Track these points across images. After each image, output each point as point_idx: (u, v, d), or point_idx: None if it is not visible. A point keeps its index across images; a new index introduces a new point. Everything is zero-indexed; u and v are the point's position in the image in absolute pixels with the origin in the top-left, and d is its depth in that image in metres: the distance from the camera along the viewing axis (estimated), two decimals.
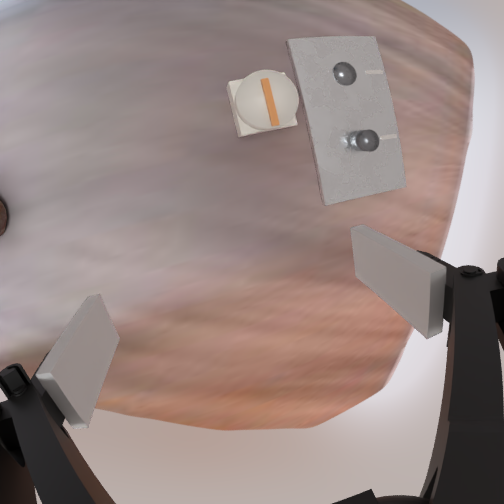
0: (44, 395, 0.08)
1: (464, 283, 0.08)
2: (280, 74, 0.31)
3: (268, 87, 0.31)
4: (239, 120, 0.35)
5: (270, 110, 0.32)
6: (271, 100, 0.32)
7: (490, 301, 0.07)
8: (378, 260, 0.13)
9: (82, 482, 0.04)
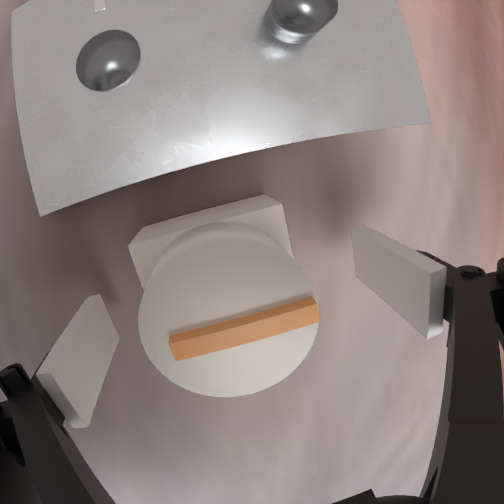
0: (44, 395, 0.08)
1: (464, 283, 0.08)
2: (146, 300, 0.11)
3: (200, 341, 0.11)
4: None
5: (273, 332, 0.11)
6: (242, 332, 0.11)
7: (490, 301, 0.07)
8: (378, 260, 0.13)
9: (82, 482, 0.04)
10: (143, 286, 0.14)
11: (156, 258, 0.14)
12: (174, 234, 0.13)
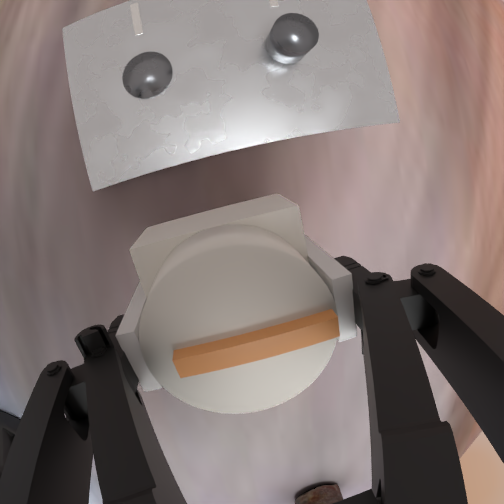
0: (123, 356, 0.10)
1: (370, 291, 0.09)
2: (148, 312, 0.10)
3: (208, 358, 0.10)
4: None
5: (289, 348, 0.10)
6: (254, 348, 0.10)
7: (401, 305, 0.08)
8: None
9: (146, 458, 0.05)
10: (146, 293, 0.13)
11: (160, 263, 0.12)
12: (180, 237, 0.12)
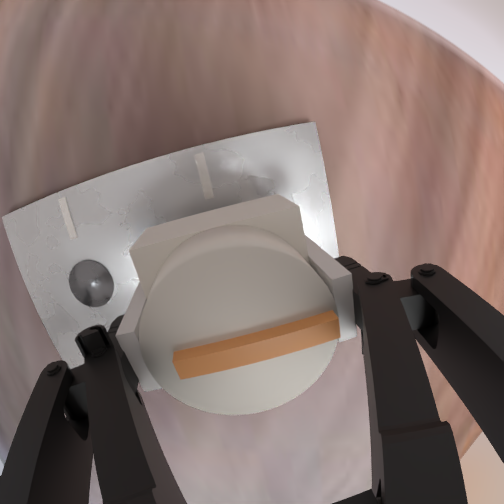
0: (123, 356, 0.10)
1: (370, 291, 0.09)
2: (148, 313, 0.10)
3: (208, 359, 0.10)
4: None
5: (289, 349, 0.10)
6: (254, 349, 0.10)
7: (401, 305, 0.08)
8: None
9: (146, 458, 0.05)
10: (146, 294, 0.13)
11: (160, 264, 0.12)
12: (180, 238, 0.12)
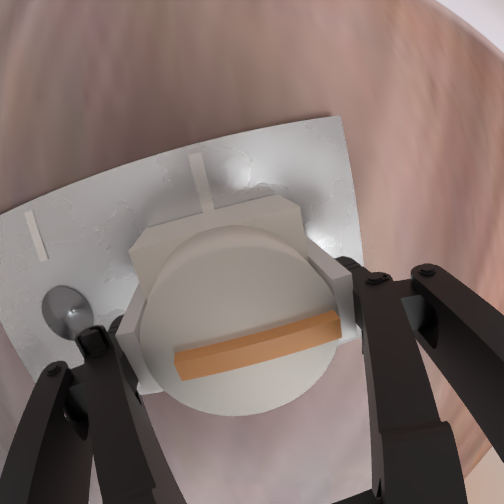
0: (123, 356, 0.10)
1: (370, 291, 0.09)
2: (149, 314, 0.10)
3: (210, 361, 0.10)
4: None
5: (291, 350, 0.10)
6: (256, 350, 0.10)
7: (401, 305, 0.08)
8: None
9: (146, 458, 0.05)
10: (145, 295, 0.13)
11: (160, 265, 0.12)
12: (180, 238, 0.12)
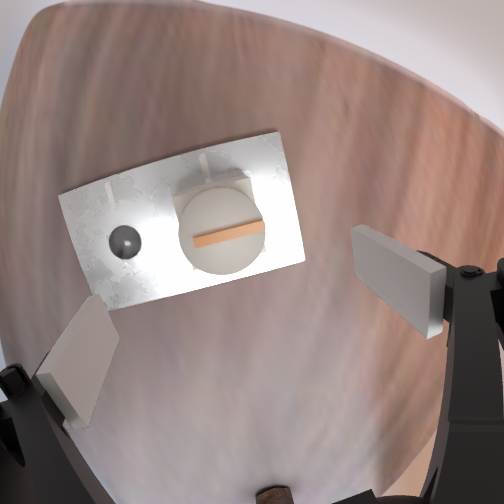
0: (44, 395, 0.08)
1: (464, 283, 0.08)
2: (183, 218, 0.24)
3: (208, 237, 0.24)
4: None
5: (242, 234, 0.25)
6: (227, 233, 0.25)
7: (490, 301, 0.07)
8: (378, 260, 0.13)
9: (82, 482, 0.04)
10: (178, 219, 0.27)
11: (186, 204, 0.27)
12: (195, 191, 0.27)
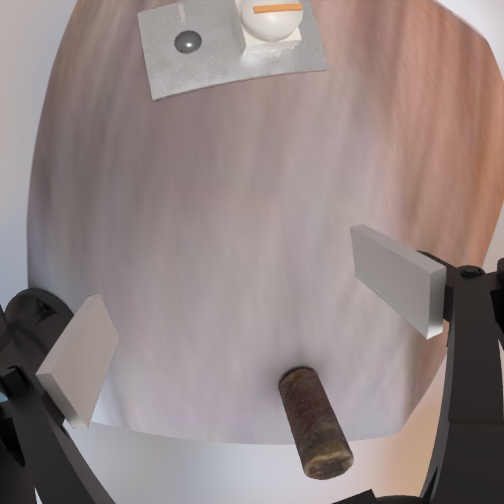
0: (44, 395, 0.08)
1: (464, 283, 0.08)
2: None
3: (264, 7, 0.27)
4: (287, 39, 0.32)
5: (287, 8, 0.28)
6: (277, 6, 0.27)
7: (490, 301, 0.07)
8: (378, 260, 0.13)
9: (82, 482, 0.04)
10: (238, 12, 0.30)
11: None
12: None
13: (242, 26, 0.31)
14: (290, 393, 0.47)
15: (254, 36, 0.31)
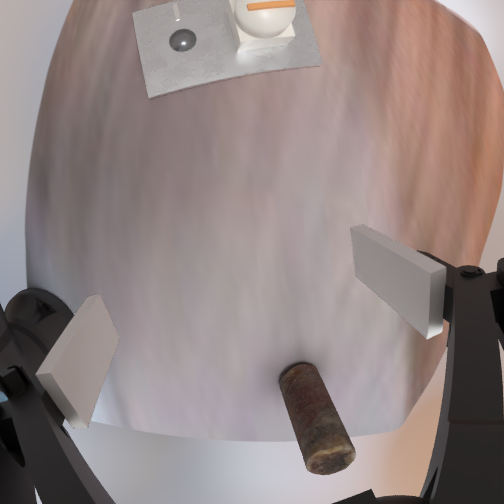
0: (44, 395, 0.08)
1: (464, 283, 0.08)
2: None
3: (257, 4, 0.27)
4: (280, 36, 0.32)
5: (280, 4, 0.28)
6: (270, 3, 0.28)
7: (490, 301, 0.07)
8: (378, 260, 0.13)
9: (82, 482, 0.04)
10: (232, 9, 0.30)
11: None
12: None
13: (236, 23, 0.31)
14: (291, 389, 0.47)
15: (248, 33, 0.31)
